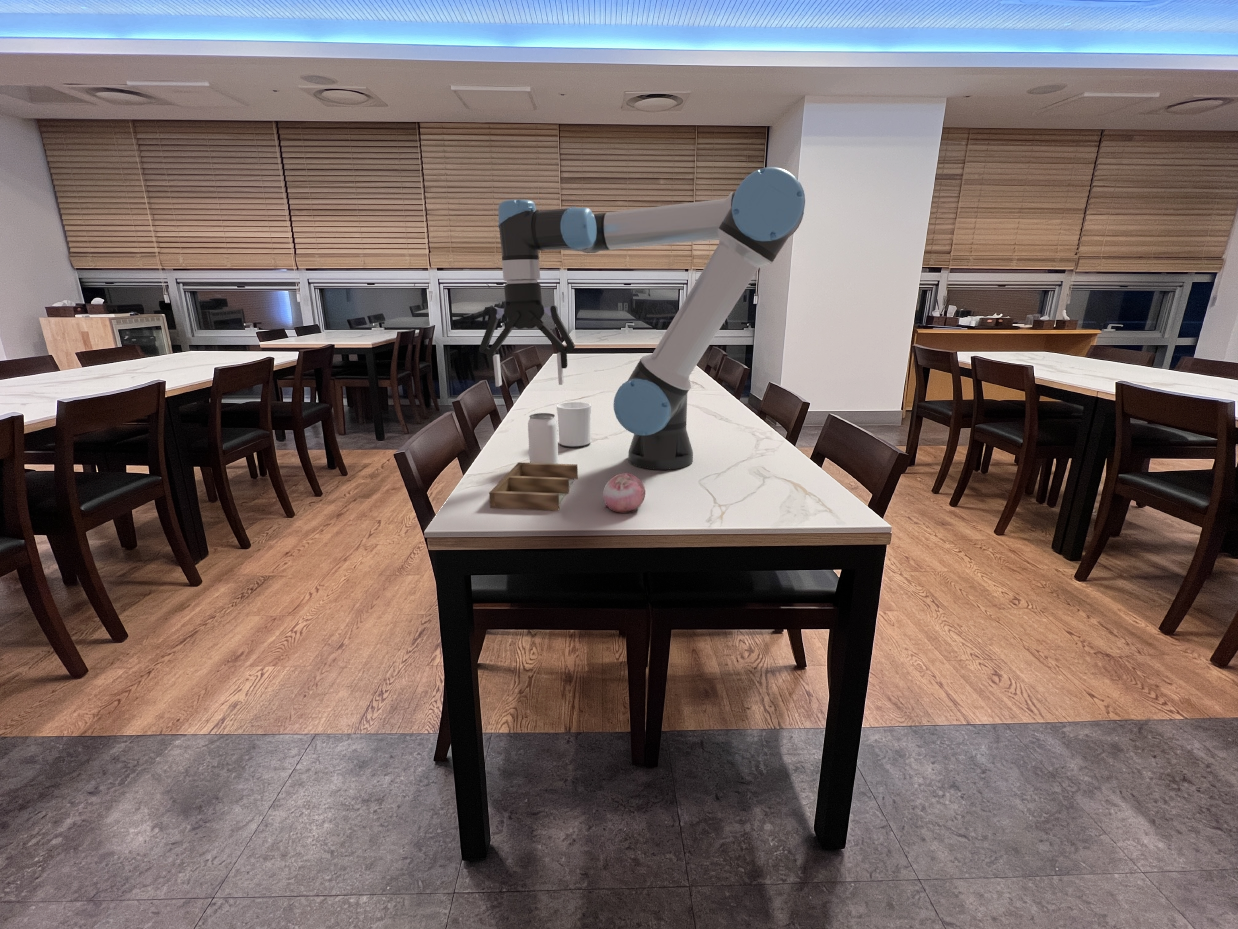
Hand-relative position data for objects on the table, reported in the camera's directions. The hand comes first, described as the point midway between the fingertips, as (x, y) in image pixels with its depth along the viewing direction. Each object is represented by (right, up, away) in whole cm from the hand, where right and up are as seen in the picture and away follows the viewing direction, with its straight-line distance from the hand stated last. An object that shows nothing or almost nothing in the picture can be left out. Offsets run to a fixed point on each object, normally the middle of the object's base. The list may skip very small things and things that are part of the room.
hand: (530, 384), depth 127 cm
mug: (+8, -12, +26) cm, 29 cm away
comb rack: (+3, -23, -9) cm, 25 cm away
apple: (+20, -26, -18) cm, 37 cm away
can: (+2, -18, +6) cm, 19 cm away
